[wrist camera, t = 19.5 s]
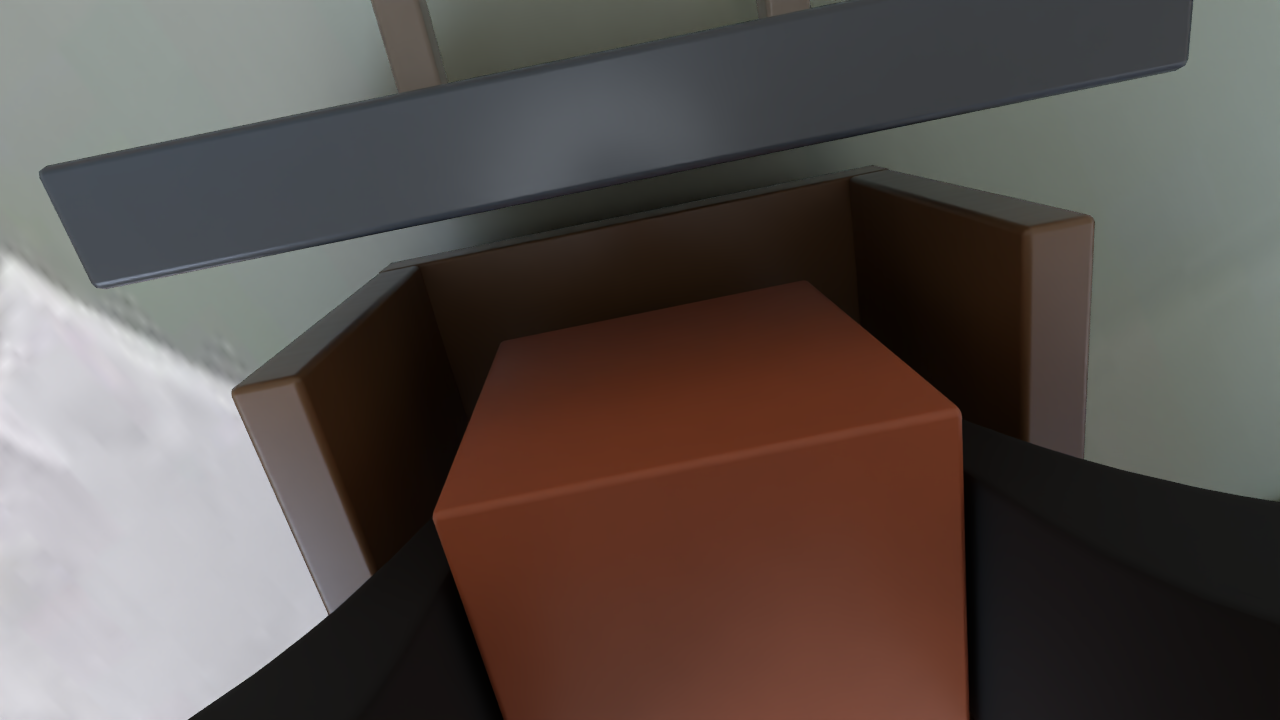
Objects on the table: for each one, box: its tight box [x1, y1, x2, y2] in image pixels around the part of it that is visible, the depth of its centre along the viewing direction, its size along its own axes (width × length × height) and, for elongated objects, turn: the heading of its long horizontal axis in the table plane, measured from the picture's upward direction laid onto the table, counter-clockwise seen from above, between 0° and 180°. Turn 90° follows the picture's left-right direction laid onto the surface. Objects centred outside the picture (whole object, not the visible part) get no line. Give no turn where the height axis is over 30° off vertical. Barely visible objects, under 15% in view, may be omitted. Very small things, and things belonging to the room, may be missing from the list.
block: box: [433, 280, 970, 720], centre depth 9 cm, size 5×5×5 cm
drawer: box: [39, 0, 1193, 720], centre depth 11 cm, size 17×11×7 cm, turn 11°
